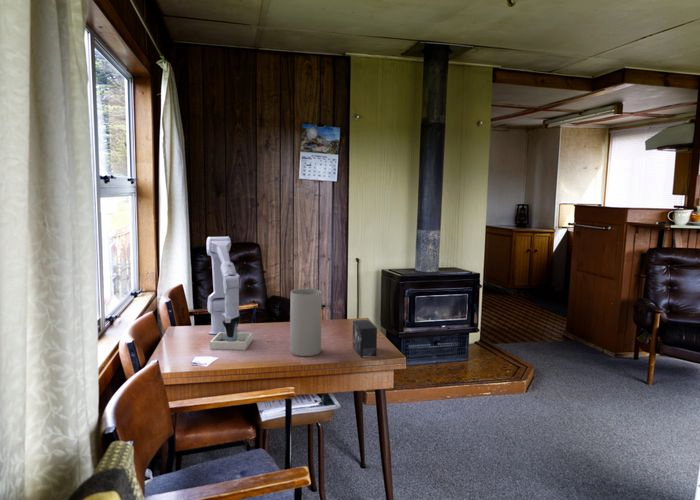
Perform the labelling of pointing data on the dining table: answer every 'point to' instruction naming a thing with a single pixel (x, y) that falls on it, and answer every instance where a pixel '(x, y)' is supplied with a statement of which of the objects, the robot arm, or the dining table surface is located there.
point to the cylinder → (234, 338)
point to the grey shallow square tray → (218, 344)
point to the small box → (365, 338)
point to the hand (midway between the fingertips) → (231, 335)
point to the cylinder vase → (305, 322)
